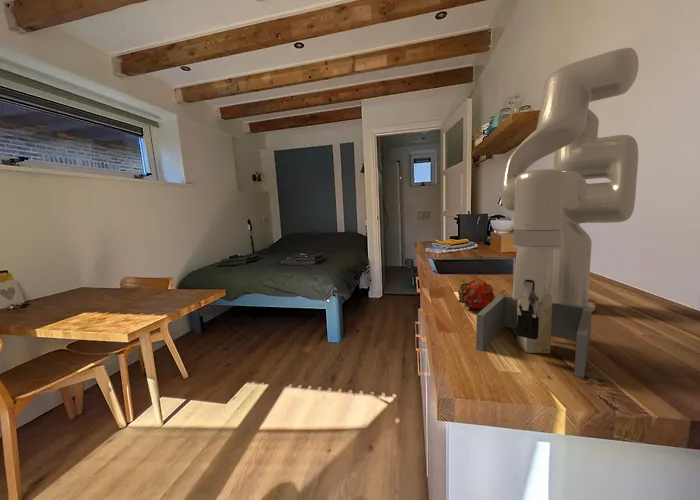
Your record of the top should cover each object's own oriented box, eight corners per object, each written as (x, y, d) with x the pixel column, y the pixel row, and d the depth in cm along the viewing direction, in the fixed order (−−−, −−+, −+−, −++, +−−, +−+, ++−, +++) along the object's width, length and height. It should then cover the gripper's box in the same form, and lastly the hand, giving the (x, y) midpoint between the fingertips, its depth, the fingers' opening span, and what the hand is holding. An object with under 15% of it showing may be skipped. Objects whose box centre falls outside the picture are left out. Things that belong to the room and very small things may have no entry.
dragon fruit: (457, 318, 77) (485, 315, 84) (483, 306, 71) (511, 303, 77) (445, 288, 81) (473, 287, 88) (468, 274, 75) (496, 274, 81)
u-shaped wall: (499, 323, 69) (500, 294, 68) (589, 341, 58) (591, 307, 57) (476, 349, 57) (476, 314, 56) (583, 377, 46) (586, 335, 45)
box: (551, 354, 54) (554, 295, 52) (525, 353, 55) (527, 295, 53) (539, 341, 59) (541, 288, 58) (515, 340, 60) (517, 287, 58)
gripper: (523, 235, 63) (520, 312, 65) (501, 243, 50) (498, 339, 52) (567, 236, 58) (562, 319, 60) (554, 245, 45) (549, 351, 47)
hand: (532, 328), depth 56 cm, fingers open, 9 cm apart
